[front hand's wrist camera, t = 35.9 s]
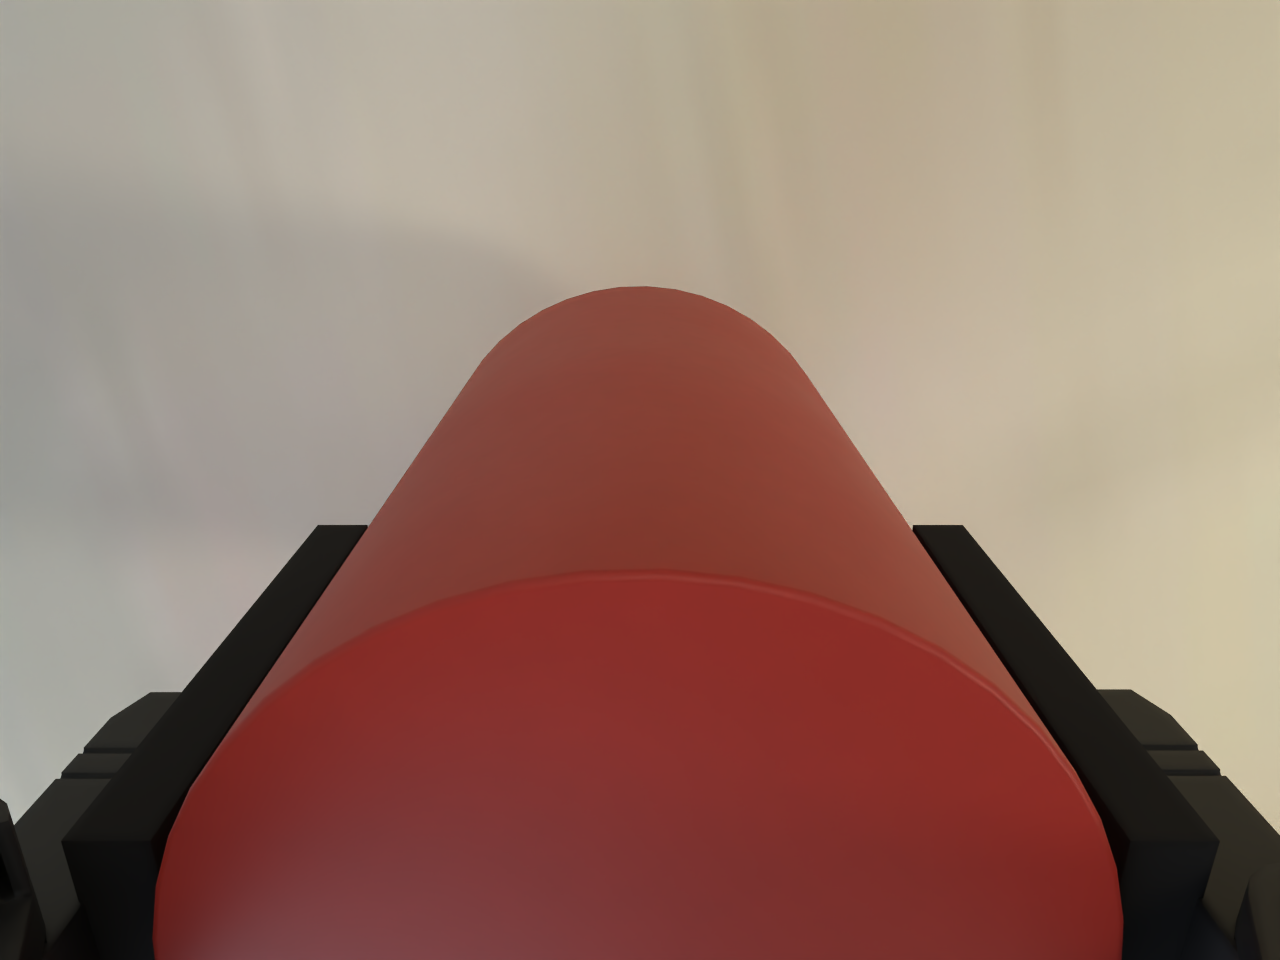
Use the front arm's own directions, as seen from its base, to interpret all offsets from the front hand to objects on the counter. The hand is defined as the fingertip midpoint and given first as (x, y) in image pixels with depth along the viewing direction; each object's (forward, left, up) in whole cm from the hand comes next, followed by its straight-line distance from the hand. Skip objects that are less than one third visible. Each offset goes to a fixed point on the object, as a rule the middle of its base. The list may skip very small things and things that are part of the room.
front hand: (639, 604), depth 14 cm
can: (0, 0, -6) cm, 6 cm away
